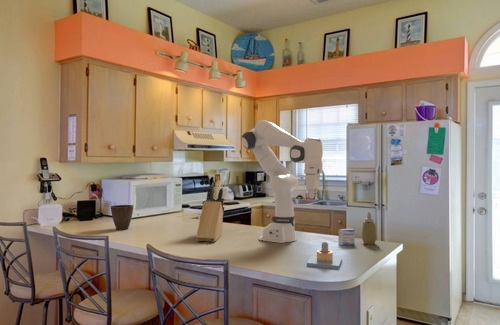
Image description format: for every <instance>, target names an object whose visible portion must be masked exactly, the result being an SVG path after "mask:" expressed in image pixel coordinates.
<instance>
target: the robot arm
mask: <svg viewBox="0 0 500 325" xmlns="http://www.w3.org/2000/svg"><path fill="white" fill-rule="evenodd" d="M240 140H241V144H242V146H243V147H244V148H245V149H247V150H252V153H253V155H254V157H255V159H256V160H257V162H258V164H259V165H260V167H261V168H262V169H263V171H264V172H265V174H266V175H268V176H269V177H270V178H271V180H270V182H269V188H270V189H271V191H272V193H273V198H274V208H275V211H274V212H275V214H274V215H273V216H272V217H271V220H272V222H270V223H269V224H267V225H266V226H265V227H264V228H263V231H262V235H260V236H259V237H258V240H259V241H262V240H263V242H272V243H279V244H280V243H281V244H283V243H291V242H296V241H297V235H296V231H295V225H296V219H295V217H296V216H295V203H294V201H293V197H292V192H294V191H295V190H297V189H298V187H299V180H298V178H297V176H295V175H293V173H292V172H290V170H289V169H288V168H287V167H286V166H285V165H284V164H283V163H282V162H281V161H280V160H279V159H278V157H277V155H276V154H275V152H274V151H273V150H272V149H271V148H270V146H273V147H283V148H290V150H289V159H290V160H291V161H292V163H295V164H304V170H303V174H304V175H305V177H304V178H305V188H306V190H308V195H309V199H314V198H315V197H317V195H318V194H317V193H318V188H320V185H321V184H320V183H321V181H320V180H321V179H320V175H321V174H323V160H322V158H323V156H324V155H323V154H324V153H323V150H324V149H323V142H322V140H321V139H320V138H317V137H306V138H305V139H304V140H301V139H299V138H297V137H295V136H294V135H292V134H291V133H289V132H287V131H286V130H284V129H282V128H281V127H279V126H278V125H276V124H275V123H273V122H271V121H268V120H265V119H260V120H259V121H257V122H256V124H255V126H254V127H253V128H251V129H250V130H248V131H245V133H243V134H242V135H241V138H240Z"/></svg>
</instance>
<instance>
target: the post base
mask: <svg viewBox="0 0 500 325" xmlns="http://www.w3.org/2000/svg"><path fill="white" fill-rule="evenodd" d="M321 250H322V253H328V250H329V244H328V242H327V241H323V242H321ZM342 262H343V258H342V257H338V256H337V257H335V256H333V261H332V262H320V261H317V255H313V254H312V255H311V257H310V258H309V259H308V260H307V262H306V267H312V268H322V269H335V270H340V267H341V265H342Z"/></svg>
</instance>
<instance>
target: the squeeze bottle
mask: <svg viewBox="0 0 500 325" xmlns="http://www.w3.org/2000/svg"><path fill="white" fill-rule="evenodd" d="M361 239H362V241H363V244H364V245H369V246H370V245H375V244H376V241H377V227H376V223H375V222H374V218H372V214H371V212H370V211H368V213H367V215H366V218H364V222H363V223H362V232H361Z"/></svg>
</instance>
